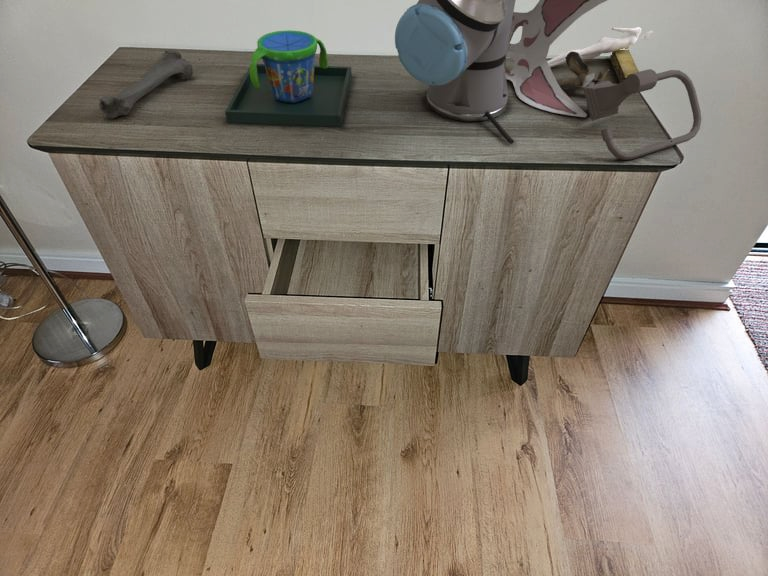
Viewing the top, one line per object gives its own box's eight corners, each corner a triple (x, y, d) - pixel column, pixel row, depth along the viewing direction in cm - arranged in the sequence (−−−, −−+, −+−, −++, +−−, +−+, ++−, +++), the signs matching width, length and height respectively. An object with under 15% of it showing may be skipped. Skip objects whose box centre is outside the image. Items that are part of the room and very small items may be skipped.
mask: (470, 104, 119) (599, 126, 103) (442, 93, 110) (580, 116, 93) (497, -5, 113) (640, 0, 96) (470, -26, 104) (623, -24, 87)
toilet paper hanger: (619, 163, 83) (594, 71, 81) (572, 177, 93) (549, 96, 92) (713, 132, 90) (692, 47, 89) (660, 149, 100) (641, 72, 99)
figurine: (555, 67, 104) (667, 28, 106) (549, 49, 103) (661, 10, 105) (535, 85, 114) (636, 49, 116) (529, 69, 114) (631, 33, 116)
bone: (174, 71, 108) (165, 41, 104) (201, 76, 106) (193, 45, 102) (97, 119, 94) (83, 86, 89) (126, 125, 92) (114, 92, 88)
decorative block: (620, 88, 104) (638, 90, 104) (625, 77, 103) (643, 78, 102) (608, 58, 115) (625, 59, 115) (612, 47, 113) (629, 48, 113)
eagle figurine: (605, 81, 104) (565, 62, 106) (613, 59, 97) (570, 39, 99) (583, 112, 104) (544, 91, 106) (590, 92, 97) (548, 70, 99)
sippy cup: (316, 76, 106) (311, 22, 98) (342, 96, 100) (339, 41, 92) (244, 94, 100) (233, 39, 92) (267, 117, 93) (258, 60, 86)
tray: (351, 77, 107) (351, 66, 105) (340, 127, 93) (340, 115, 91) (253, 74, 107) (251, 63, 106) (227, 123, 93) (224, 111, 92)
